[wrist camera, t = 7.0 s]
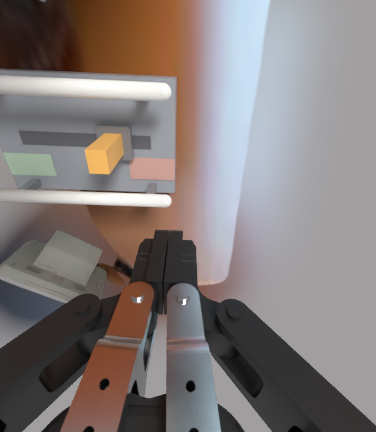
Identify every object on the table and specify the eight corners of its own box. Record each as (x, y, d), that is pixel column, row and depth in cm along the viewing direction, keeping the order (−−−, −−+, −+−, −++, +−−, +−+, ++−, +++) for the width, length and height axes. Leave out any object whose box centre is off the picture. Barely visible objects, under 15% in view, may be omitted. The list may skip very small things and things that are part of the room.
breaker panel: (-6, 68, 27) (-77, 69, 20) (176, 76, 28) (173, 81, 20) (34, 175, 35) (-7, 205, 28) (175, 180, 36) (172, 211, 28)
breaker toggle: (96, 124, 27) (71, 140, 21) (130, 125, 27) (115, 142, 21) (102, 157, 29) (81, 180, 23) (133, 158, 29) (120, 181, 23)
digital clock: (24, 240, 42) (-20, 286, 34) (48, 212, 39) (7, 256, 30) (96, 282, 49) (76, 330, 40) (122, 262, 46) (107, 309, 37)
